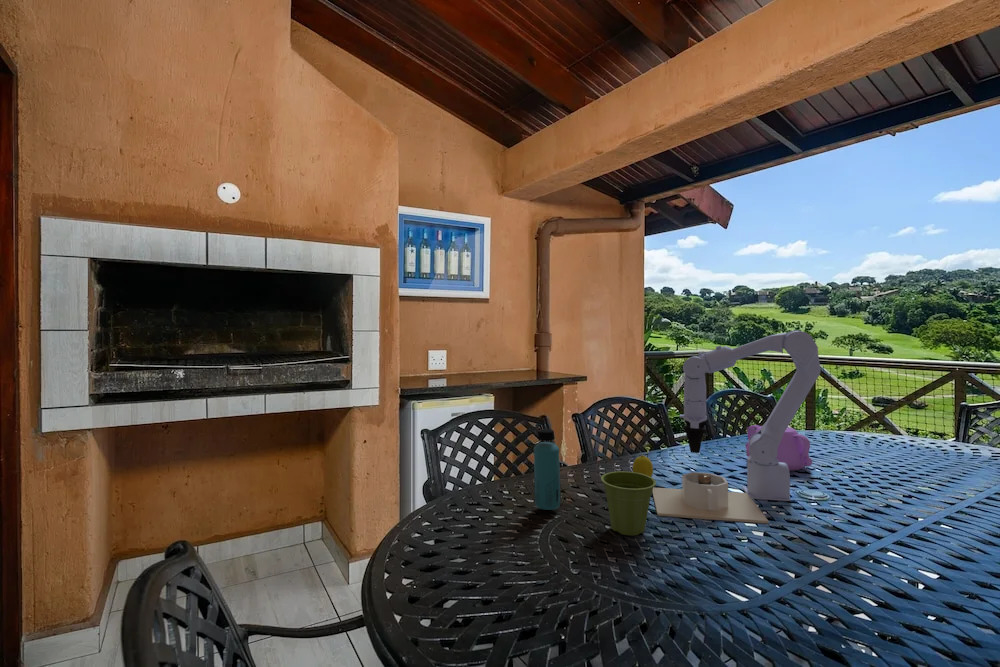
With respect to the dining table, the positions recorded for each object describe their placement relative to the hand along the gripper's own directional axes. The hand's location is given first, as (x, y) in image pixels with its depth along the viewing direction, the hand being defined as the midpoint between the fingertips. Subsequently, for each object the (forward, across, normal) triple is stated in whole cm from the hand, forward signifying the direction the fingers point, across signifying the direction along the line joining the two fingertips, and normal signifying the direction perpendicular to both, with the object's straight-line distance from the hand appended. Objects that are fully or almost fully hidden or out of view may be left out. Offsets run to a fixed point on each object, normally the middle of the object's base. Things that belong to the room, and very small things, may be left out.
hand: (695, 448), depth 136 cm
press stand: (+10, +14, +2) cm, 17 cm away
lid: (+9, +14, +2) cm, 17 cm away
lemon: (+11, +2, -14) cm, 18 cm away
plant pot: (+11, +35, -13) cm, 39 cm away
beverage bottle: (+11, +31, -33) cm, 47 cm away
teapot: (+11, -27, +22) cm, 36 cm away
